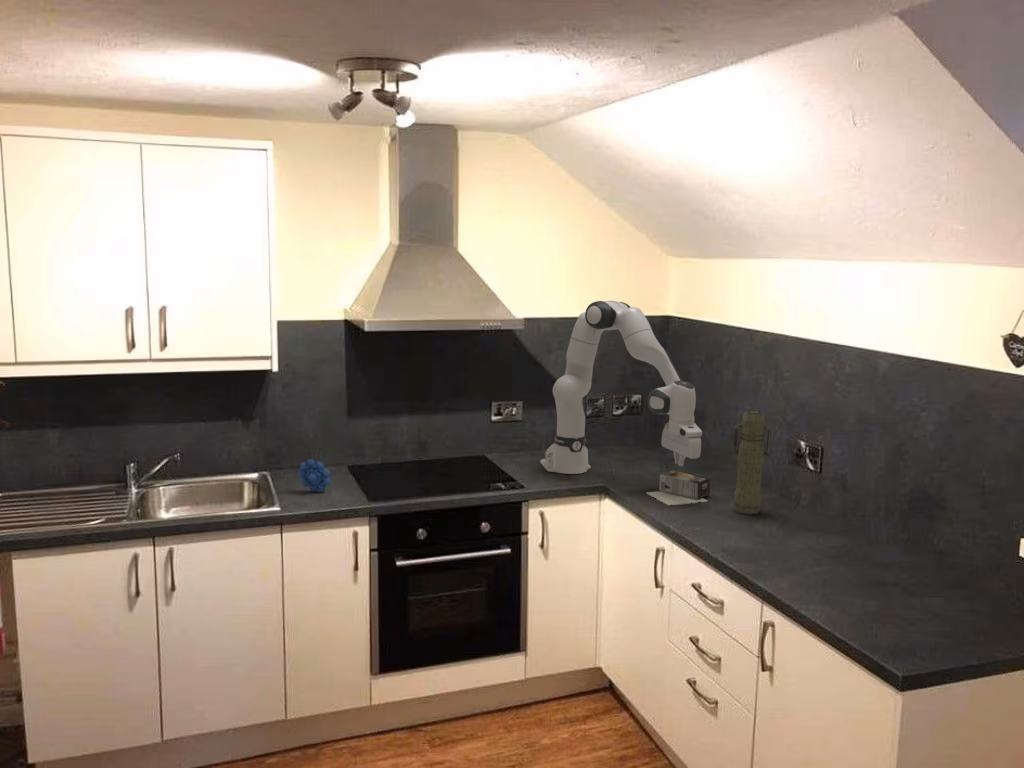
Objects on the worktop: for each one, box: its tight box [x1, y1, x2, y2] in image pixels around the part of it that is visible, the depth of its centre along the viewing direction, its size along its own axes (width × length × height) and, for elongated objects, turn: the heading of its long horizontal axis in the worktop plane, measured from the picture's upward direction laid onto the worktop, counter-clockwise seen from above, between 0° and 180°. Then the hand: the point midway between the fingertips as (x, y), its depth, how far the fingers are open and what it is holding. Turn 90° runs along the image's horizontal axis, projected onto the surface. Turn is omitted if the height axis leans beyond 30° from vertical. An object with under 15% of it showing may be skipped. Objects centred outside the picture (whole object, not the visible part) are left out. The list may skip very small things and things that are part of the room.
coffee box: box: [658, 470, 711, 499], centre depth 315 cm, size 9×6×16 cm
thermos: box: [732, 409, 772, 516], centre depth 295 cm, size 9×12×35 cm
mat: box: [646, 490, 708, 507], centre depth 311 cm, size 15×16×1 cm
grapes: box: [297, 458, 331, 493], centre depth 304 cm, size 12×7×12 cm, turn 89°
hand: (679, 464), depth 309 cm, fingers closed
